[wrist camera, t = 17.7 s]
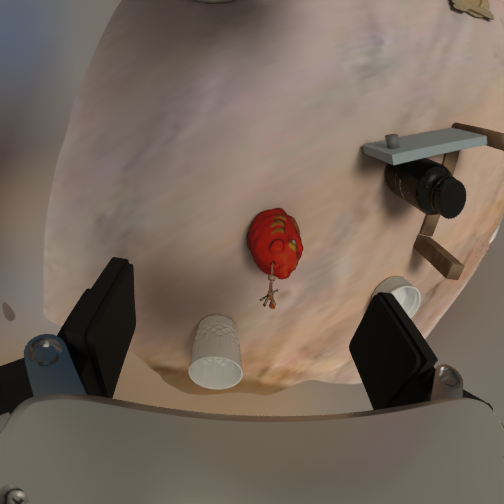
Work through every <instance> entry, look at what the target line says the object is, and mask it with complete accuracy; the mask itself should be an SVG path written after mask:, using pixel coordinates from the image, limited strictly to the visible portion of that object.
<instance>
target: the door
mask: <svg viewBox="0 0 504 504" xmlns="http://www.w3.org/2000/svg"><path fill="white" fill-rule="evenodd" d="M385 138H386V140H384V141H379V142H374V143H370V144H366V145H363V150H364V154H366V155H369V156H372V157H374V158H377V159H379V160H382V161H384V162H387V163H389V164H392V165H397V164H401V163H405V162H409V161H413V160H417V159H422V158H426V157H430V156H435V155H439V154H444V153H448V152H453V151H457V150H462V149H467V148H472V147H477V146H482V145H487V136H485V135H481V134H477V133H473V132H469V131H464V130H460V129H455V128H448V129H441V130H435V131H430V132H424V133H418V134H413V135H408V136H403V137H398V135H397V134H390V135H386V136H385Z"/></svg>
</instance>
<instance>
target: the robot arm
mask: <svg viewBox="0 0 504 504" xmlns="http://www.w3.org/2000/svg"><path fill="white" fill-rule="evenodd" d="M197 1H201V2H209V3H221V2H228V1H233V0H197ZM135 327H136V315H135V298H134V270H133V264H129V261H128V259H122V258H116V257H113V258H112V259H111V260H110V262H109V263H108V265H107V266H106V267H105V269H104V270H103V272H102V273H101V275H100V276H99V278H98V279H97V281H96V282H95V284H94V285H93V287H92V288H91V289H86V290H85V292H84V293H83V295H82V296H81V298H80V299H79V301H78V302H77V304H76V305H75V307H74V308H73V310H72V312H71V313H70V315H69V316H68V318H67V320H66V321H65V323H64V325H63V326H62V328H61V330H60V331H59V333H58V335H57V336H55V335H53V334H43V335H39V336H37V337H34V338H33V339H31V340H30V341H29V342H28V343H27V345H26V346H25V349H24V358H22V359H19V360H17V361H14V362H11V363H8V364H6V365H3V366H0V504H504V425H503V424H502V423H501V422H500V421H499V420H498V418H497V416H496V415H495V414H494V412H493V408H492V407H491V405H490V404H489V403H486V402H485V401H483V400H481V399H479V398H477V397H476V396H474V395H472V394H470V393H468V392H467V391H465V390H463V379H462V377H461V375H460V374H459V372H458V371H457V370H456V369H454V368H453V367H451V366H449V365H445V364H441V365H439V366H438V367H437V368H436V369H435V368H434V365H435V363H436V362H437V361H438V359H437V358H436V356H435V354H434V353H433V351H432V350H431V348H430V347H429V345H428V344H427V342H426V341H425V339H424V338H423V336H422V335H421V333H420V332H419V330H418V329H417V327H416V326H415V325H414V323H413V322H412V320H411V319H410V317H409V316H408V315H407V313H406V312H405V310H404V309H403V308H402V306H401V305H400V303H399V302H398V301H397V299H396V298H395V297H394V295H393V294H392V293H386V292H378V293H377V294H376V295H374V296H373V298H372V300H371V302H370V304H369V306H368V308H367V310H366V312H365V314H364V316H363V318H362V320H361V322H360V324H359V326H358V328H357V330H356V332H355V334H354V336H353V338H352V340H351V342H350V345H349V350H350V353H351V355H352V358H353V360H354V362H355V365H356V367H357V370H358V372H359V374H360V377H361V379H362V382H363V384H364V387H365V389H366V392H367V394H368V397H369V399H370V402H371V404H372V407H373V410H371V411H363V412H353V413H343V414H330V415H312V416H246V415H245V416H244V415H227V414H214V413H204V412H194V411H186V410H179V409H170V408H164V407H157V406H151V405H144V404H139V403H134V402H129V401H123V400H117V399H112V398H113V394H114V391H115V388H116V384H117V381H118V378H119V375H120V372H121V369H122V366H123V363H124V359H125V357H126V354H127V351H128V348H129V345H130V342H131V339H132V336H133V334H134V331H135Z"/></svg>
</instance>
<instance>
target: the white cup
mask: <svg viewBox="0 0 504 504" xmlns="http://www.w3.org/2000/svg"><path fill="white" fill-rule="evenodd" d="M189 376H190V378H191V379H192V380H193V381H194V382H195V383H196V384H198V385H200V386H202V387H205V388H209V389H226V388H230V387H232V386H234V385H236V384H237V383H239V382H240V380H241V379H242V377H243V370H242V361H241V353H240V344H239V339H238V335H237V326H236V324H235V323H234V322H233V321H232V320H231V319H229V318H228V317H226V316H222V315H212V316H207V317H205V318H204V319H203V320H201V321H200V323H199V325H198V328H197V333H196V336H195V340H194V344H193V349H192V354H191V360H190V365H189Z"/></svg>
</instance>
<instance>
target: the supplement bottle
mask: <svg viewBox="0 0 504 504" xmlns="http://www.w3.org/2000/svg"><path fill="white" fill-rule="evenodd" d="M386 181H387V184H388V186H389V188H390V189H391V191H392V192H393V193H395V194H396V195H398V196H399V197H401V198H402V199H404V200H405V201H407V202H408V203H410V204H411V205H413V206H414V207H416V208H417V209H419V210H420V211H422V212H423V213H425V214H428V215H438V214H439V215H442V216H443V217H445V218H448V219H449V218H450V219H452V218H454V217H456V216H457V215H459V213H460V212H461V211H462V210H463V207H464V205H465V202H466V191H465V188H464V185H463V184H462V183H461V182H460V181H458V180H456V179H455V178H454V177H453V175H452V173H451V172H450V170H449V169H448V168H447V167H445V166H444V165H442V164H440V163H437V162H435V161H432V160H429V159H427V158H422V159H417V160H413V161H409V162H405V163H401V164H397V165H392V164H388V166H387V169H386Z"/></svg>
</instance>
